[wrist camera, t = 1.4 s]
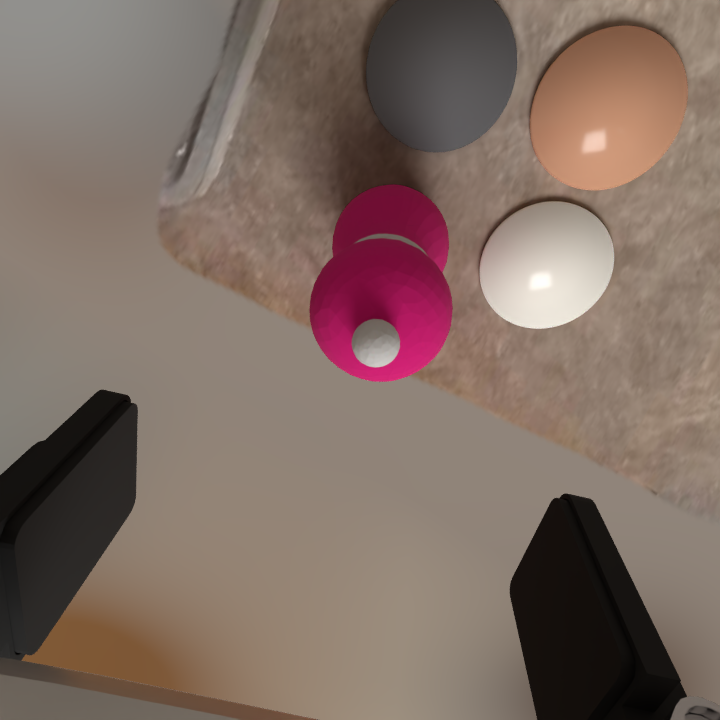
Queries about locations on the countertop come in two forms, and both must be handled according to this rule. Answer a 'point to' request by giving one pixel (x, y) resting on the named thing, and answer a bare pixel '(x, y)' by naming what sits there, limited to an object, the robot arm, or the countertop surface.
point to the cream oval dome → (546, 264)
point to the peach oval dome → (608, 107)
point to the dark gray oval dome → (441, 71)
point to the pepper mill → (384, 286)
